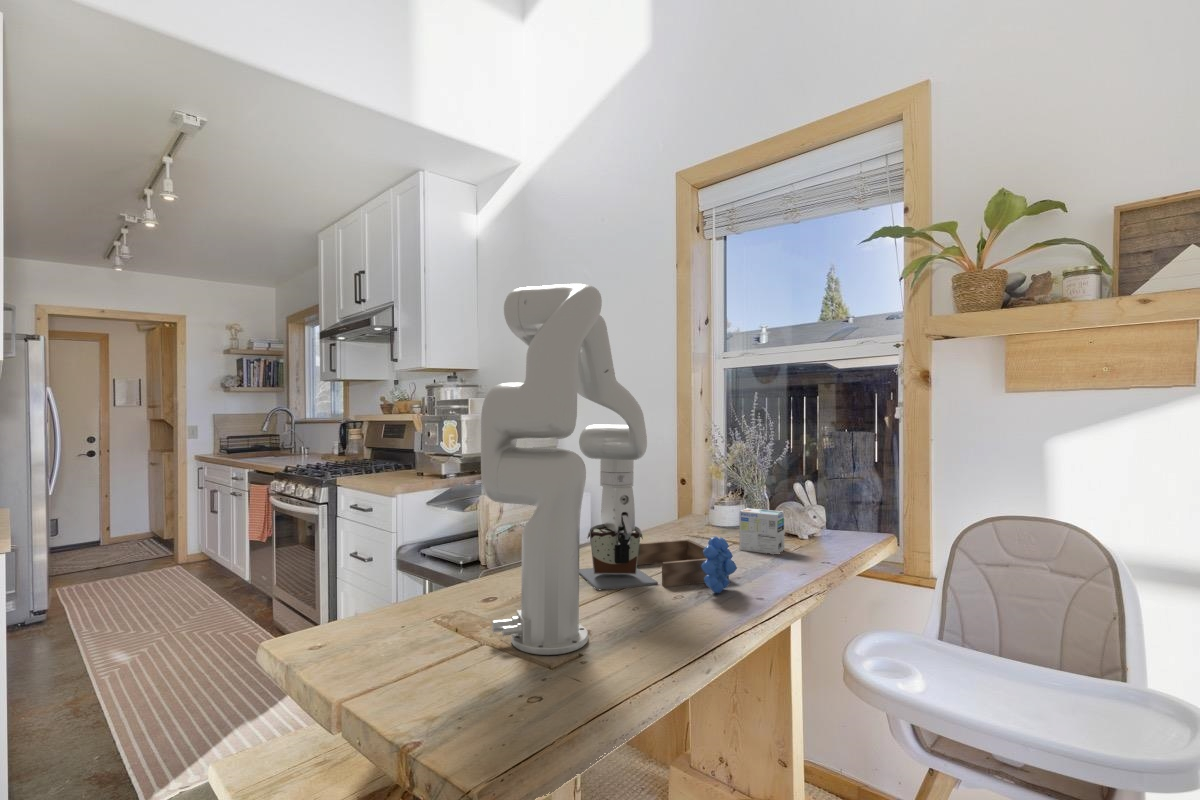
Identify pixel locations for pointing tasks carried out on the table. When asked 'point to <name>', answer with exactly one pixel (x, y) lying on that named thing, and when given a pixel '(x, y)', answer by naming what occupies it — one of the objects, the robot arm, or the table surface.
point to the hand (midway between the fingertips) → (616, 558)
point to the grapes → (717, 564)
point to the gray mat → (616, 579)
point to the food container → (612, 551)
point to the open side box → (675, 561)
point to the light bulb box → (761, 530)
